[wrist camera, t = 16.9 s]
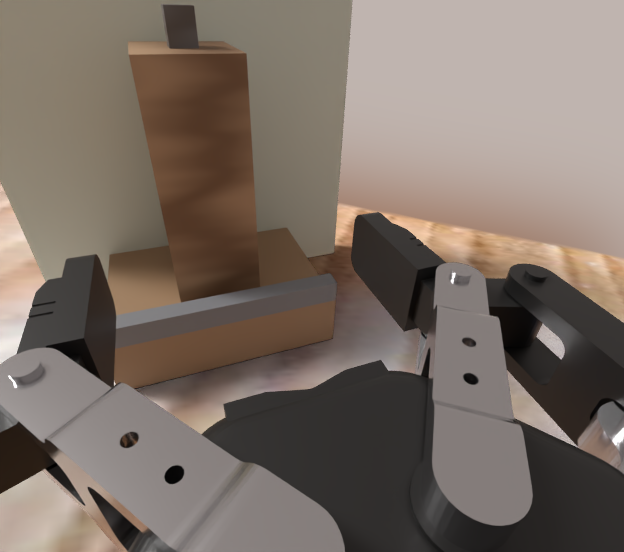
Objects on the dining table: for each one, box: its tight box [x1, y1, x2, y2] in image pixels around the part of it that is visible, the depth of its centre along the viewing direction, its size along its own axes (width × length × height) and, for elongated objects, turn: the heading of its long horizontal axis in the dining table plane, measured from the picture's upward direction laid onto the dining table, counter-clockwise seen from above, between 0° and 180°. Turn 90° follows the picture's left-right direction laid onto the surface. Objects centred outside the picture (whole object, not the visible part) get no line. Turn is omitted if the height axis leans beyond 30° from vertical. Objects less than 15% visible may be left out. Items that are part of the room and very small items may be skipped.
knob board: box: [128, 4, 260, 302], centre depth 20 cm, size 4×5×14 cm
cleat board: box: [0, 0, 352, 389], centre depth 20 cm, size 20×10×20 cm, turn 111°
